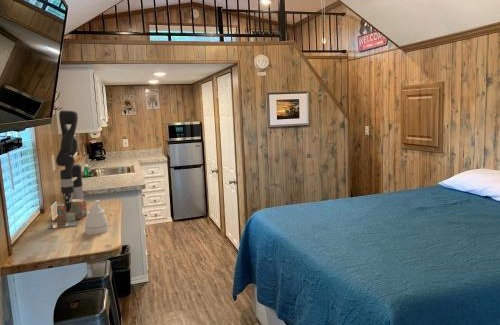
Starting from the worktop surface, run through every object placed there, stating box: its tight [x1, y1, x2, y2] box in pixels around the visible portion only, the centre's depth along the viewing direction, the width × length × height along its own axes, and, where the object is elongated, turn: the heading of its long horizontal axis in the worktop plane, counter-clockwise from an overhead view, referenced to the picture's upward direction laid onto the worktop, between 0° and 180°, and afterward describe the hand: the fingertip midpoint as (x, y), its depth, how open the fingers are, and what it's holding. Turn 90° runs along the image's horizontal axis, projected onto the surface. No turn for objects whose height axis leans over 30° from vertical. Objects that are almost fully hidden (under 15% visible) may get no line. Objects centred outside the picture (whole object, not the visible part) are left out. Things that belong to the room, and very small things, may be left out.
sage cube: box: [66, 212, 76, 222], centre depth 257 cm, size 5×5×5 cm
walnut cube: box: [55, 216, 67, 226], centre depth 247 cm, size 5×5×5 cm
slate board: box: [48, 220, 79, 230], centre depth 247 cm, size 10×16×1 cm, turn 108°
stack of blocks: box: [56, 199, 88, 220], centre depth 266 cm, size 21×6×12 cm, turn 84°
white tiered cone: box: [84, 200, 109, 235], centre depth 234 cm, size 13×13×18 cm
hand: (68, 210), depth 255 cm, fingers open, 8 cm apart
